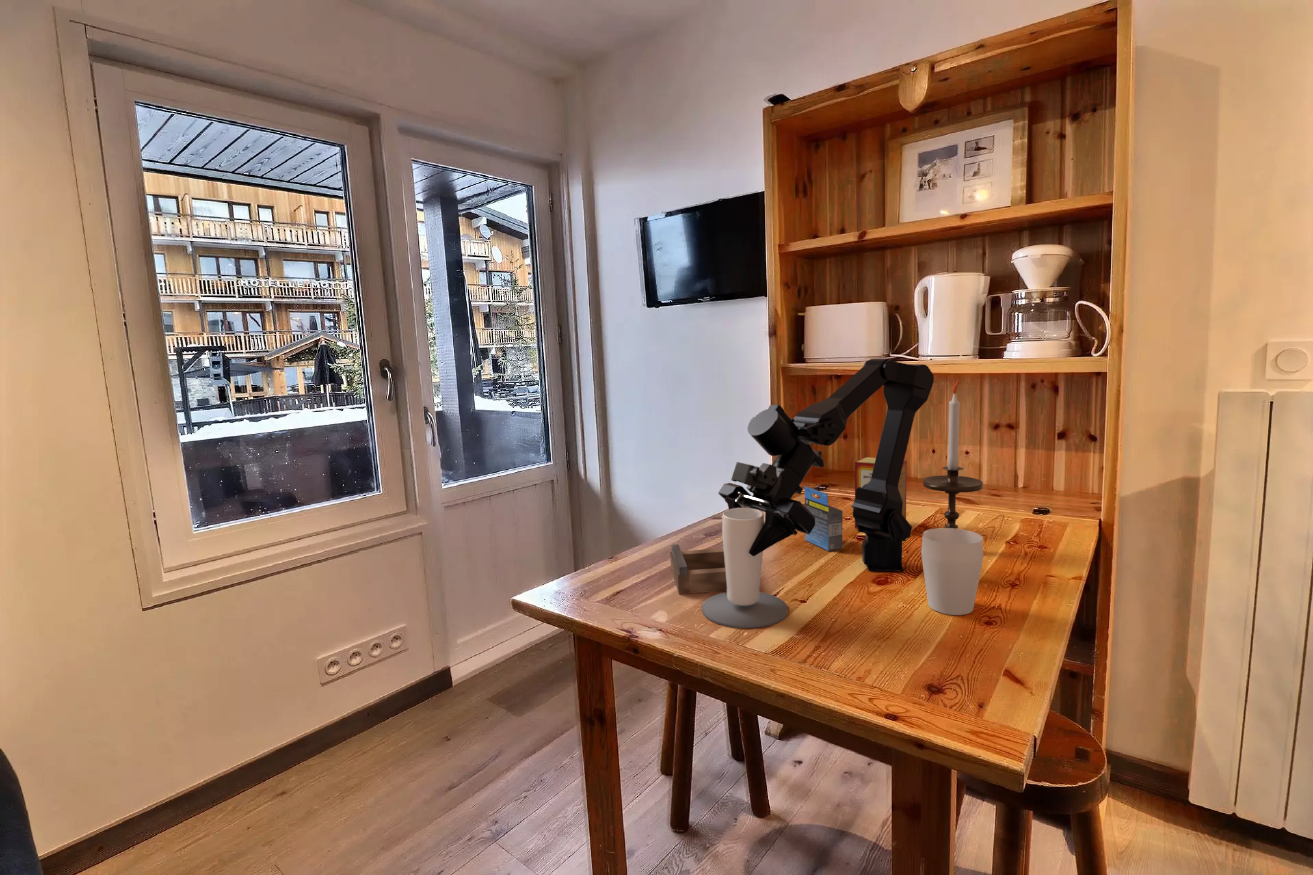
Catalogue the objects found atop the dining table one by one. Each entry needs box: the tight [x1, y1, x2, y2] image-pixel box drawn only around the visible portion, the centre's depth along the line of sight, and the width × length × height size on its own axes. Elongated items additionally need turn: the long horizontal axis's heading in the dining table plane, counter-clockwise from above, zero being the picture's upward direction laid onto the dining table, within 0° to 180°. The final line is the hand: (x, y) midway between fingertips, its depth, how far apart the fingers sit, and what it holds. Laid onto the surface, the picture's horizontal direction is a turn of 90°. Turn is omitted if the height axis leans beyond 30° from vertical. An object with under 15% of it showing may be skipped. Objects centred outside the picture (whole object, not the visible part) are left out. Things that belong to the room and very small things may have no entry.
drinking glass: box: [721, 508, 765, 606], centre depth 105 cm, size 7×7×15 cm
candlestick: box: [922, 378, 984, 529], centre depth 129 cm, size 11×11×35 cm
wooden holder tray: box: [669, 544, 727, 595], centre depth 121 cm, size 13×13×5 cm
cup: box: [920, 527, 984, 616], centre depth 103 cm, size 9×9×12 cm
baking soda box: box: [854, 456, 908, 529], centre depth 147 cm, size 10×6×16 cm
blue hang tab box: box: [803, 485, 844, 552], centre depth 137 cm, size 9×4×12 cm, turn 20°
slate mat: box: [701, 591, 789, 629], centre depth 107 cm, size 14×14×1 cm
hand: (737, 549), depth 104 cm, fingers closed on drinking glass, 7 cm apart
